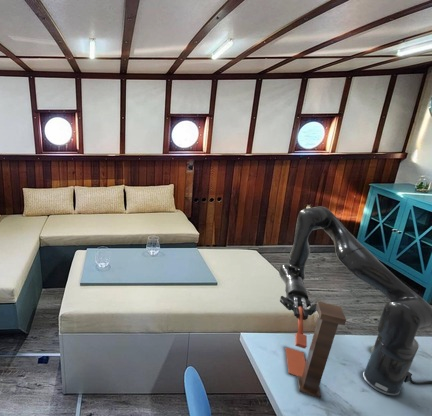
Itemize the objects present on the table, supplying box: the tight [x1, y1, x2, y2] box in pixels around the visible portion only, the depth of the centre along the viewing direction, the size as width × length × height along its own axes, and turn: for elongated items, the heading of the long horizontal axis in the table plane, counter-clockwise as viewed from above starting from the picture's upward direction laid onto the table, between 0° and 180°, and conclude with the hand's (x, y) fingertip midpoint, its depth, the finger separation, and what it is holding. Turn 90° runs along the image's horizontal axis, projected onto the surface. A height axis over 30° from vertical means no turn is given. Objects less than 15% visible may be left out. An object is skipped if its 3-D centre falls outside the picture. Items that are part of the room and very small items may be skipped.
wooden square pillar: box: [296, 301, 347, 399], centre depth 92 cm, size 6×6×32 cm
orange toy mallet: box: [294, 307, 308, 349], centre depth 105 cm, size 15×3×2 cm
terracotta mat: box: [285, 347, 306, 377], centre depth 106 cm, size 13×6×1 cm, turn 154°
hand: (301, 317), depth 106 cm, fingers closed on orange toy mallet, 1 cm apart
